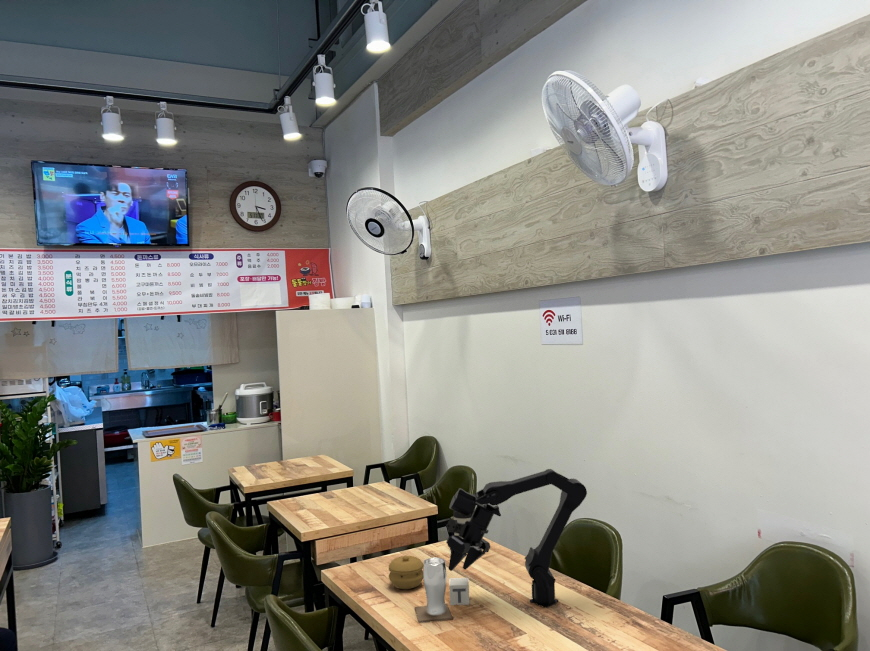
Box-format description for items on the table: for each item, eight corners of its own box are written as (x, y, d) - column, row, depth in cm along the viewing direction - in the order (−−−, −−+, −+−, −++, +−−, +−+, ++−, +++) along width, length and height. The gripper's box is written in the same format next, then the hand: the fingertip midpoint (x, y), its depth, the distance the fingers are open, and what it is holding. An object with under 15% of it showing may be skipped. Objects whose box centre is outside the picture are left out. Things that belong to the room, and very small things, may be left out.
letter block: (469, 605, 197) (468, 585, 198) (449, 605, 198) (449, 585, 198) (469, 596, 204) (468, 577, 204) (450, 597, 204) (449, 578, 204)
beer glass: (447, 617, 188) (445, 565, 188) (423, 617, 188) (421, 565, 189) (448, 607, 195) (446, 557, 195) (425, 607, 195) (423, 557, 196)
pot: (384, 592, 210) (383, 561, 210) (395, 578, 222) (394, 549, 222) (419, 594, 207) (418, 562, 208) (428, 580, 219) (427, 550, 219)
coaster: (447, 605, 198) (447, 603, 198) (453, 619, 188) (453, 617, 188) (414, 608, 196) (414, 606, 196) (418, 622, 186) (418, 620, 186)
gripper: (472, 510, 209) (451, 554, 209) (444, 508, 194) (421, 555, 193) (500, 528, 203) (478, 573, 202) (473, 527, 187) (450, 576, 187)
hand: (457, 569), depth 196 cm, fingers open, 9 cm apart
